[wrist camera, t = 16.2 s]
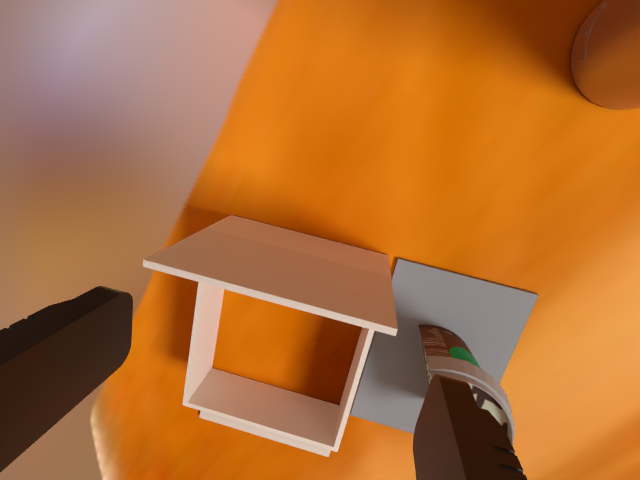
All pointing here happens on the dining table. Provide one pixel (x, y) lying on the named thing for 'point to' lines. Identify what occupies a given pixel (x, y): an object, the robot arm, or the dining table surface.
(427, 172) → the dining table surface
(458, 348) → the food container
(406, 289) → the slate mat
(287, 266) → the carton
